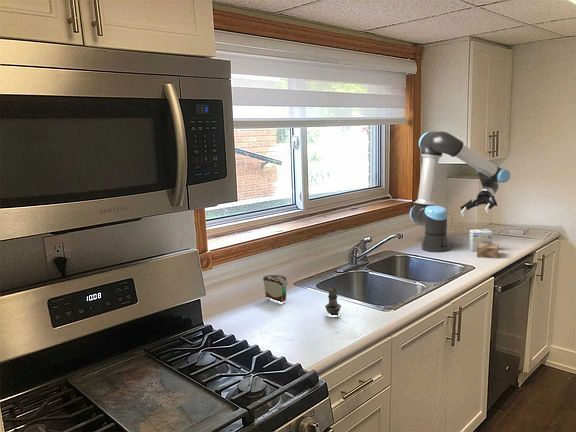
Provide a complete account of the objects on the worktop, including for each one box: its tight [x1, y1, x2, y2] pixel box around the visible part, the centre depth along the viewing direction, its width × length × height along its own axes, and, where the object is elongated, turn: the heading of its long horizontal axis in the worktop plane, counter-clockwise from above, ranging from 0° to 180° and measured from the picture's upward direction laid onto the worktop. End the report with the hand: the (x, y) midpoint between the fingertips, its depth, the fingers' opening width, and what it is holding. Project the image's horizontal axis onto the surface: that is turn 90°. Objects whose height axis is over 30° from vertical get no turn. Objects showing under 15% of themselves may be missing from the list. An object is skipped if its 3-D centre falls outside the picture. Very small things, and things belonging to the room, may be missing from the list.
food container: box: [262, 274, 289, 302], centre depth 191 cm, size 12×6×10 cm, turn 44°
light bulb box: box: [468, 228, 493, 252], centre depth 254 cm, size 11×7×11 cm, turn 84°
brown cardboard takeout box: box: [476, 243, 499, 259], centre depth 243 cm, size 10×10×5 cm
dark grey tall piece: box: [324, 284, 342, 316], centre depth 173 cm, size 6×6×12 cm
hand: (474, 212), depth 257 cm, fingers open, 13 cm apart
